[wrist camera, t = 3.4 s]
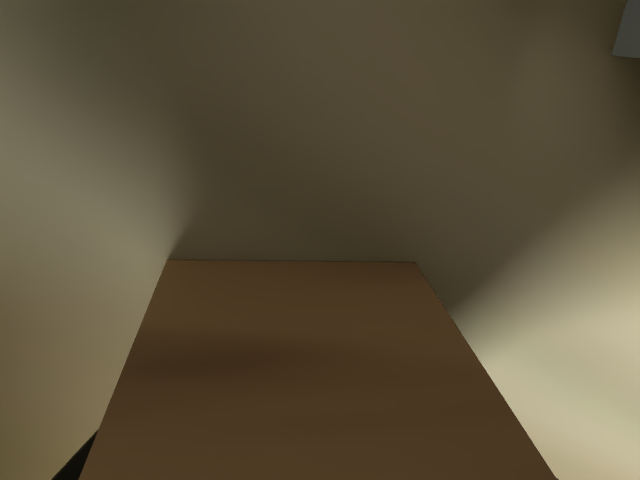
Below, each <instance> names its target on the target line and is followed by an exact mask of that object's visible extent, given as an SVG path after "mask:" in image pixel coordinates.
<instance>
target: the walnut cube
mask: <svg viewBox="0 0 640 480" xmlns="http://www.w3.org/2000/svg"><path fill="white" fill-rule="evenodd" d="M79 480H557V479H556V477H555V476H554V474H553V473H552V471H551V470H550V468H549V467H548V465H547V464H546V462H545V461H544V459H543V458H542V456H541V454H540V453H539V451H538V450H537V448H536V447H535V445H534V444H533V442H532V441H531V439H530V438H529V436H528V435H527V433H526V432H525V430H524V428H523V427H522V425H521V424H520V422H519V421H518V419H517V418H516V416H515V415H514V413H513V412H512V410H511V409H510V407H509V405H508V404H507V402H506V401H505V399H504V398H503V396H502V395H501V393H500V392H499V390H498V389H497V387H496V386H495V384H494V383H493V381H492V379H491V378H490V376H489V375H488V373H487V372H486V370H485V369H484V367H483V366H482V364H481V363H480V361H479V360H478V358H477V357H476V355H475V353H474V352H473V350H472V349H471V347H470V346H469V344H468V343H467V341H466V340H465V338H464V337H463V335H462V334H461V332H460V330H459V329H458V327H457V326H456V324H455V323H454V321H453V320H452V318H451V317H450V315H449V314H448V312H447V311H446V309H445V308H444V306H443V304H442V303H441V301H440V300H439V298H438V297H437V295H436V294H435V292H434V291H433V289H432V288H431V286H430V285H429V283H428V281H427V280H426V278H425V277H424V275H423V274H422V272H421V271H420V269H419V268H418V266H417V265H416V263H415V262H326V261H215V260H167V261H166V264H165V266H164V268H163V271H162V273H161V276H160V278H159V281H158V283H157V286H156V288H155V291H154V293H153V296H152V298H151V301H150V303H149V306H148V308H147V311H146V313H145V316H144V318H143V321H142V323H141V326H140V328H139V331H138V333H137V336H136V338H135V340H134V343H133V345H132V348H131V350H130V353H129V355H128V358H127V360H126V363H125V365H124V368H123V370H122V373H121V375H120V378H119V380H118V383H117V385H116V388H115V390H114V393H113V395H112V398H111V400H110V403H109V405H108V408H107V410H106V412H105V415H104V417H103V420H102V422H101V425H100V427H99V430H98V432H97V435H96V437H95V440H94V442H93V445H92V447H91V450H90V452H89V455H88V457H87V460H86V462H85V465H84V467H83V470H82V472H81V475H80V477H79Z"/></svg>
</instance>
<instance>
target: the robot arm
mask: <svg viewBox="0 0 640 480" xmlns="http://www.w3.org/2000/svg"><path fill="white" fill-rule="evenodd" d="M98 430H99V429H98ZM98 430H97V431H96V432H95V433H94V434H93V436H92V437H91V438H90V439H89V440H88V441H87V442H86V443H85V444H84V445H83V446H82V447H81V448H80V449H79V451H78V452H77V453H76V454H75V455H74V456H73V457H72V458H71V459H70V460H69V461H68V462H67V463H66V464H65V466H64V467H63V468H62V469H61V470H60V471H59V472H58V473H57V474H56V475H55V476H54V477H53V478H52V479H51V480H79V477H80V475H81V472H82V470H83V467H84V465H85V462H86V460H87V457H88V455H89V452H90V450H91V447H92V445H93V442H94V440H95V437H96V435H97V432H98ZM556 479H557V478H556ZM557 480H558V479H557Z"/></svg>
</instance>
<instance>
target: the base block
mask: <svg viewBox="0 0 640 480" xmlns="http://www.w3.org/2000/svg"><path fill="white" fill-rule="evenodd" d="M611 56H621V57H634V58H640V0H627V3H626V7H625V10H624V13H623V17H622V20H621V24H620V27H619V31H618V34H617V37H616V41H615V44H614V48H613V51H612V55H611Z"/></svg>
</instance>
